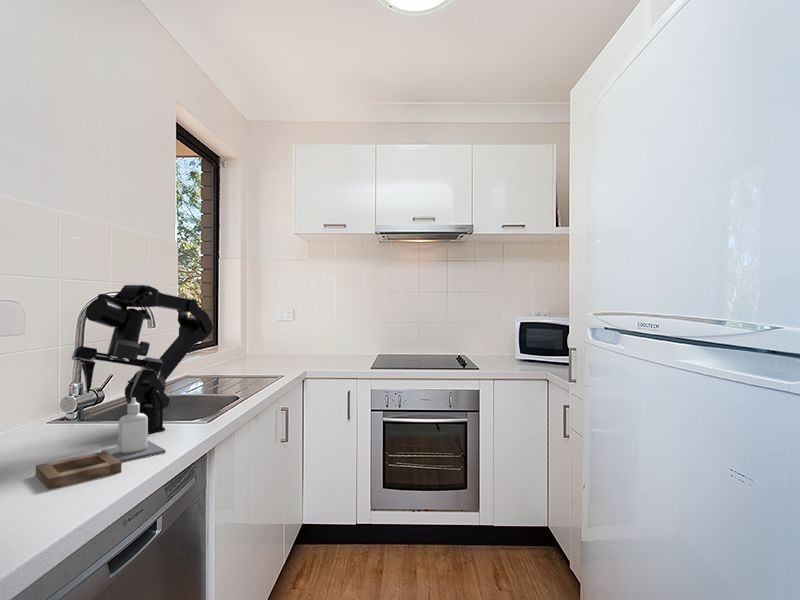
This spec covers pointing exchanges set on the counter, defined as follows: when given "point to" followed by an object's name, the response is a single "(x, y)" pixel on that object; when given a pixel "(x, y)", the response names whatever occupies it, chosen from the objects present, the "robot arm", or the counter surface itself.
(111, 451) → the mat
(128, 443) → the eye dropper bottle
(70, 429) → the counter surface
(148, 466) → the counter surface
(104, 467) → the wooden tray
